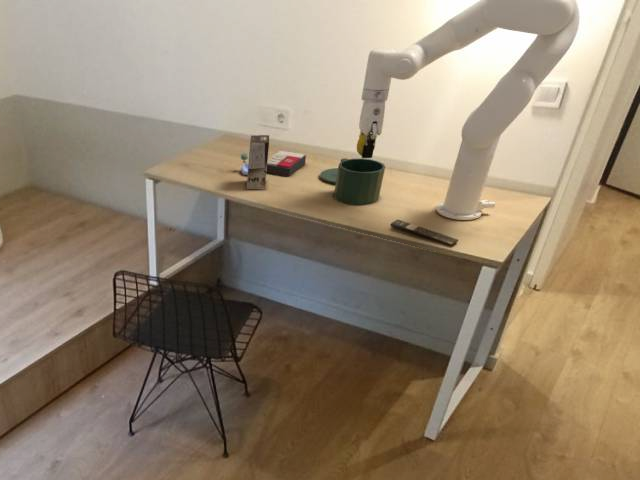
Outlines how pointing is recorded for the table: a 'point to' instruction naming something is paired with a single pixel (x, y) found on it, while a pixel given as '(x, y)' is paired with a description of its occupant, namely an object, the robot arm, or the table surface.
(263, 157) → the coffee box
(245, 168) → the figurine
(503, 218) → the table surface
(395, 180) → the table surface
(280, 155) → the grey red flat block
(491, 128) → the robot arm
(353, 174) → the tin
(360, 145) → the lemon
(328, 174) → the tin lid
